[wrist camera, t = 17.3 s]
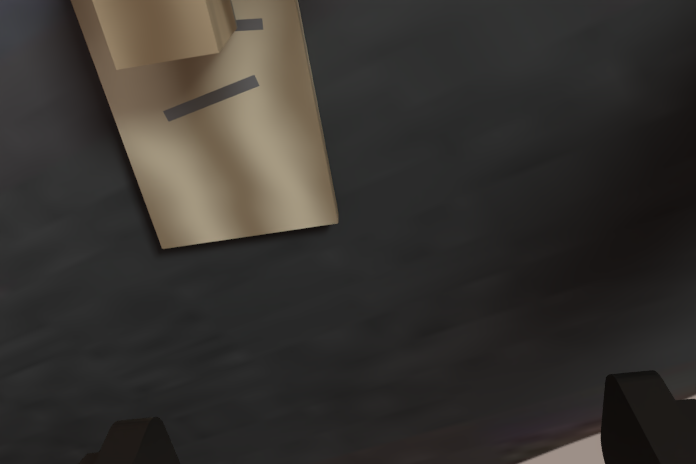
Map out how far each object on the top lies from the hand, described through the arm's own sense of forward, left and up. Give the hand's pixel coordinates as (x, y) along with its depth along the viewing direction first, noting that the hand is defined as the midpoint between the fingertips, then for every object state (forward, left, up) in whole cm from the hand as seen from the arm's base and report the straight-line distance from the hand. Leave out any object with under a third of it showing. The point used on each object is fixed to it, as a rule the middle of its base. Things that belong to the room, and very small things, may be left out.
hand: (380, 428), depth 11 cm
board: (+9, -2, -29) cm, 30 cm away
